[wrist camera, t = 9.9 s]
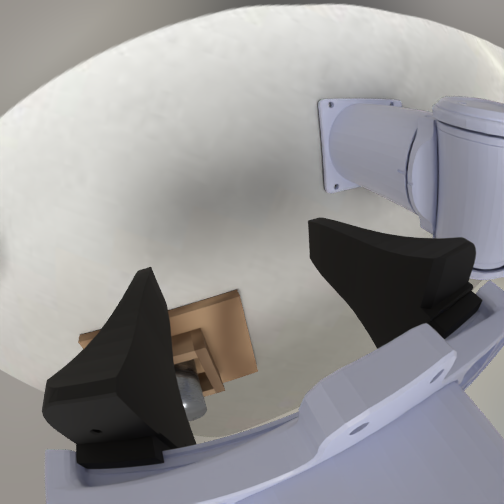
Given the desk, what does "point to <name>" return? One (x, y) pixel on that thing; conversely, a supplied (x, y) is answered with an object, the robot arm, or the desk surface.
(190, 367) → the pin
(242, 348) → the socket board
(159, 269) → the desk surface
